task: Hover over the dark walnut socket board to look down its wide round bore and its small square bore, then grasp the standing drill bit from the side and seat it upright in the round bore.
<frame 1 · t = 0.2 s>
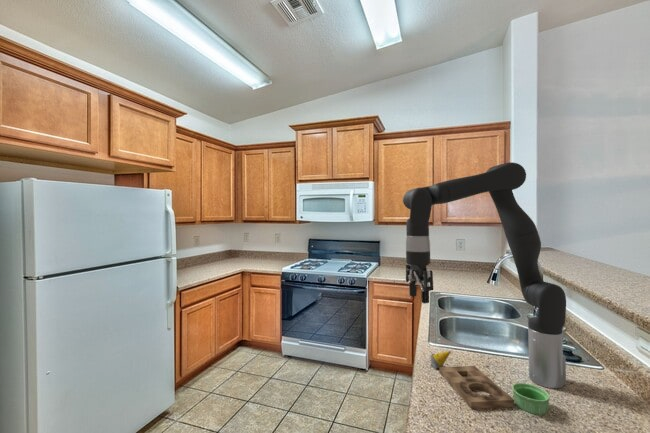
hand: (418, 299, 96), 29 cm above the worktop, tool pointing down, fingers open, 8 cm apart
socket board: (473, 388, 95), on the worktop
drill bit: (439, 367, 109), on the worktop
ramekin: (530, 407, 86), on the worktop
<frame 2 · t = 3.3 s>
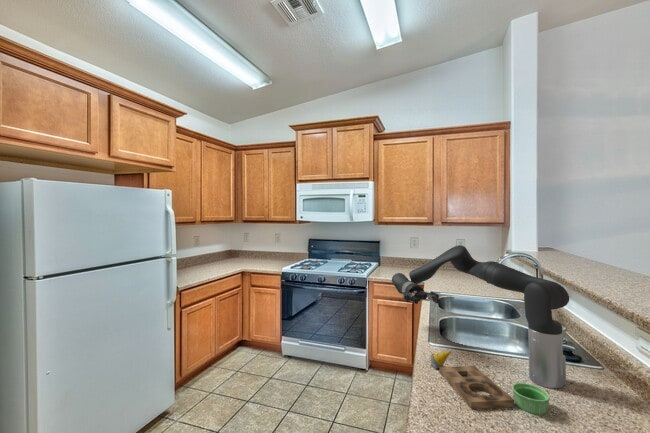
hand: (427, 301, 119), 21 cm above the worktop, tool horizontal, fingers open, 8 cm apart
nothing on the worktop moved.
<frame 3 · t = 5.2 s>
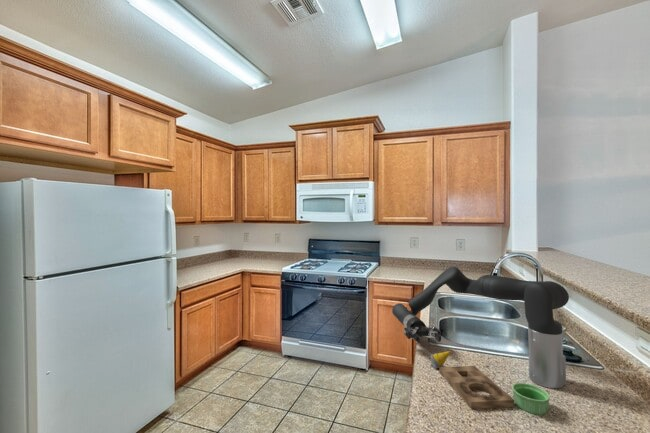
hand: (429, 339, 117), 7 cm above the worktop, tool horizontal, fingers open, 8 cm apart
nothing on the worktop moved.
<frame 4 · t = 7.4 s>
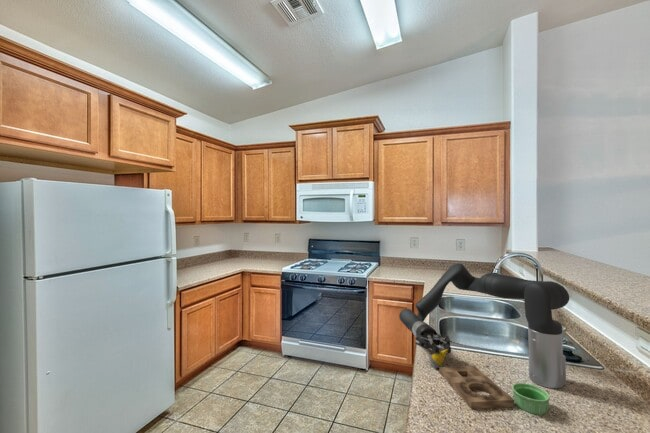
hand: (443, 350, 106), 7 cm above the worktop, tool horizontal, fingers open, 3 cm apart
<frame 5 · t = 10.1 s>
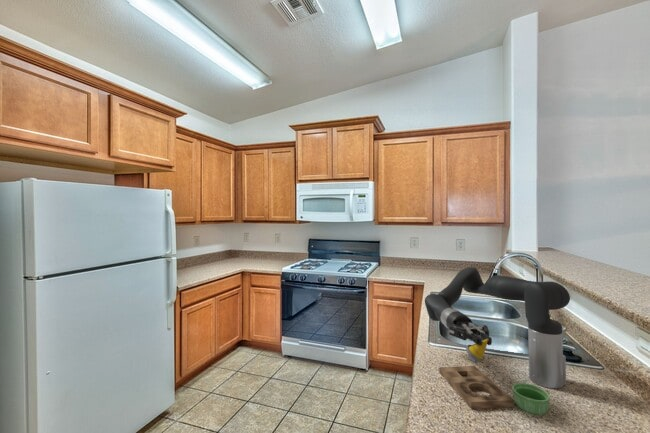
hand: (485, 341, 89), 18 cm above the worktop, tool horizontal, fingers closed on drill bit, 2 cm apart
drill bit: (480, 359, 92), point 11 cm above the worktop, touching gripper
everything else where it was.
when the fingers open (9 cm above the worktop, at t = 12.5 s): drill bit drops 3 cm, resting in socket board.
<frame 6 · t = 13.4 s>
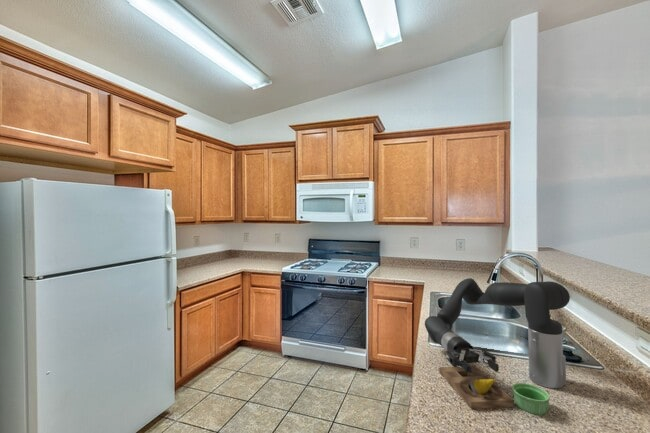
hand: (483, 369, 89), 9 cm above the worktop, tool horizontal, fingers open, 8 cm apart
drill bit: (482, 396, 91), resting in socket board
everything else where it was.
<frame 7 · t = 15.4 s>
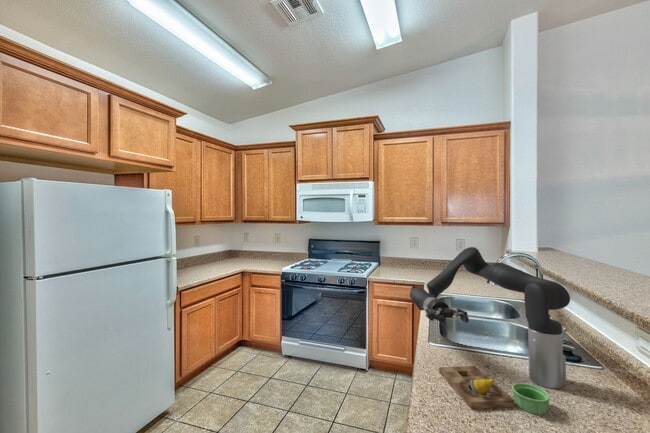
hand: (455, 320, 105), 19 cm above the worktop, tool horizontal, fingers open, 8 cm apart
nothing on the worktop moved.
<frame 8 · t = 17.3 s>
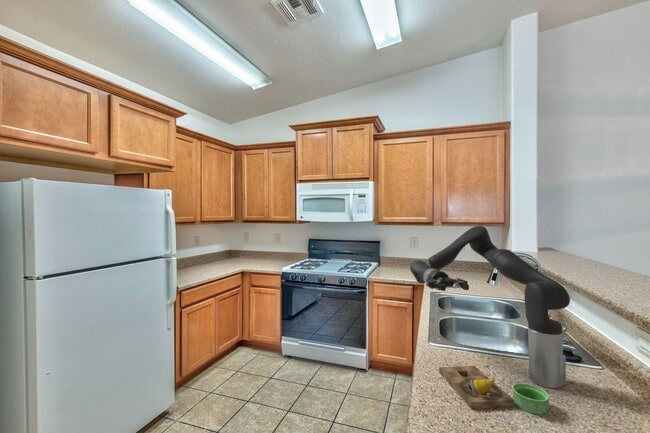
hand: (456, 287, 106), 30 cm above the worktop, tool horizontal, fingers open, 8 cm apart
nothing on the worktop moved.
at the end: drill bit 0.4 cm from the target spot on the socket board, point 0.0 cm above the socket board's base; drill bit tilted 0°; the gripper is holding nothing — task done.
